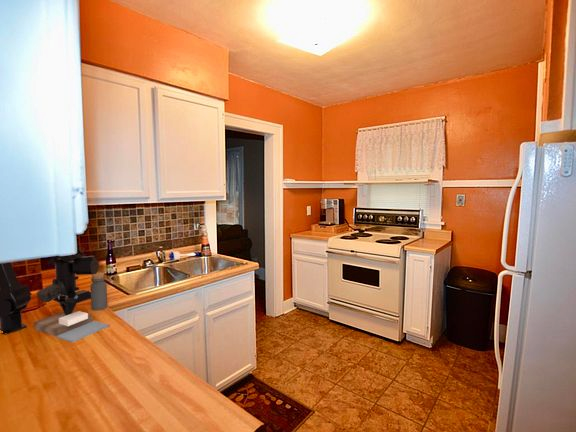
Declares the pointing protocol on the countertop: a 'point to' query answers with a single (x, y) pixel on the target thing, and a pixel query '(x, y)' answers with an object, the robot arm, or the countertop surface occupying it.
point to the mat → (82, 331)
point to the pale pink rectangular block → (73, 318)
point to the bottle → (98, 291)
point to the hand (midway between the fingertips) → (68, 316)
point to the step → (57, 324)
